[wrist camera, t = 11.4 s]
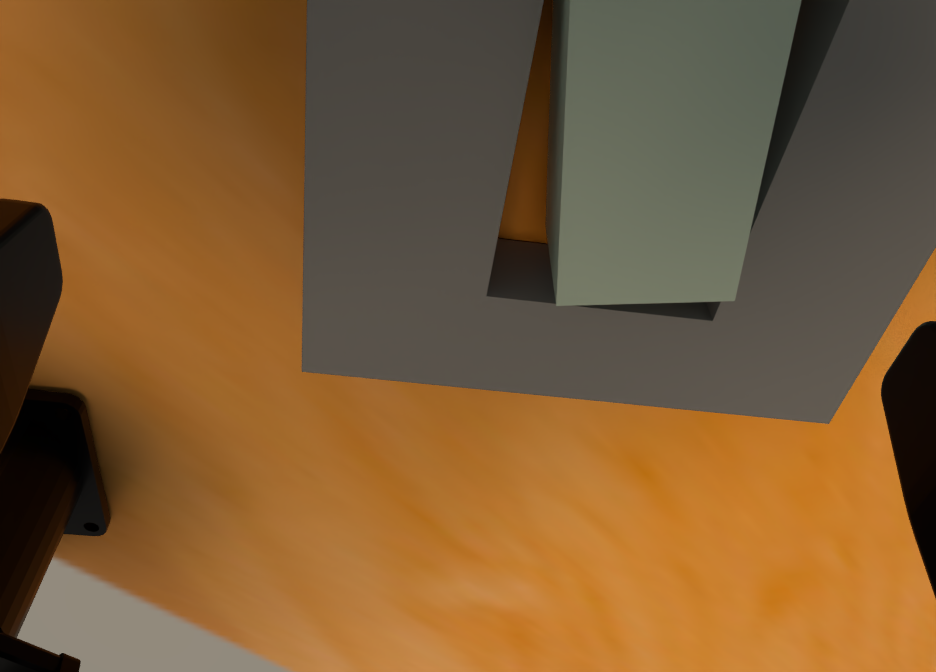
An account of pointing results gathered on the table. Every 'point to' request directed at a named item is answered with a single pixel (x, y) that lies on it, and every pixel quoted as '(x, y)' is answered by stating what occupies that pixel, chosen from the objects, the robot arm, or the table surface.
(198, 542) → the table surface
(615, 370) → the socket board
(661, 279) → the key block
